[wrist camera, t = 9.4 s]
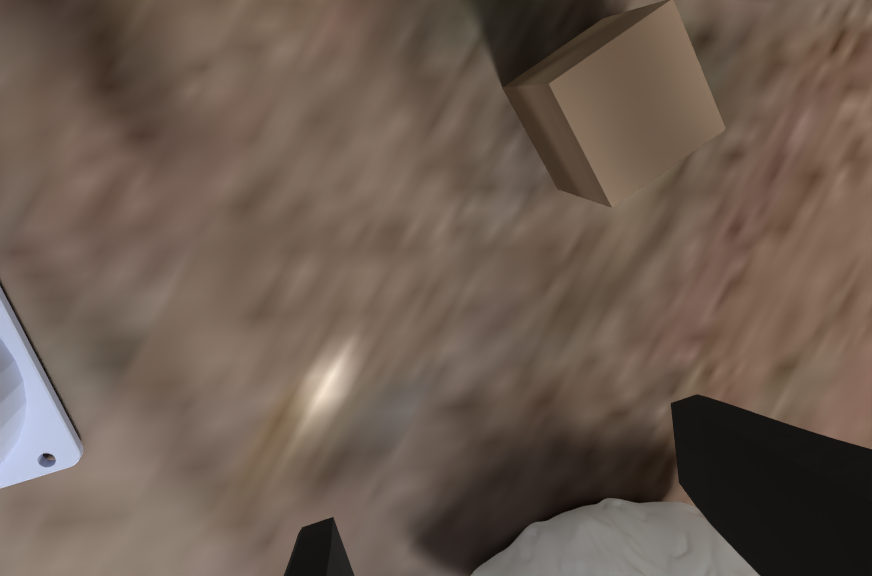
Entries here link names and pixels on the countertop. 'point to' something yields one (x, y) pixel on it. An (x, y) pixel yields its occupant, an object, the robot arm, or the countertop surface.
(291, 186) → the countertop surface
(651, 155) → the walnut cube
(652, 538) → the bust
